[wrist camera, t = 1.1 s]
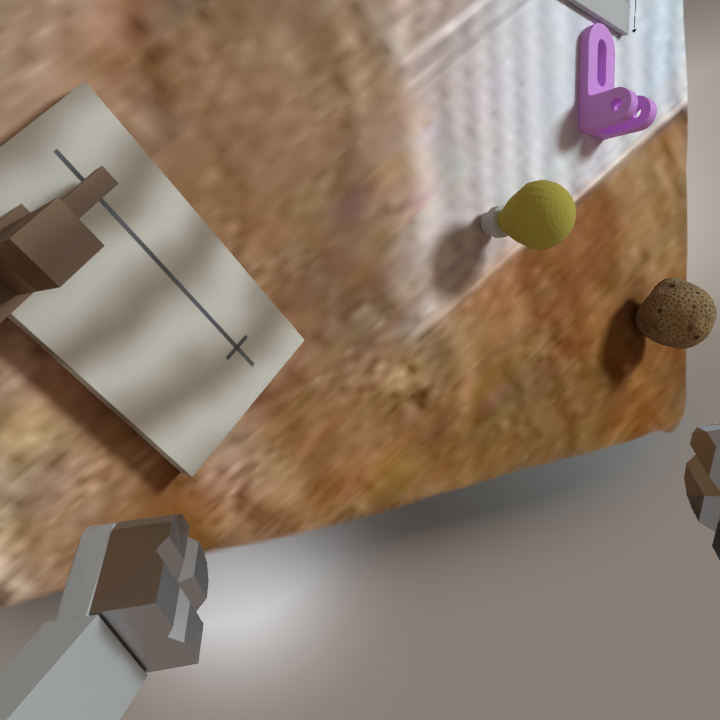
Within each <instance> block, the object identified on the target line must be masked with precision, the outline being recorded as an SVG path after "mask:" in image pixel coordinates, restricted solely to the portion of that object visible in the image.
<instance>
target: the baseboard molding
mask: <svg viewBox="0 0 720 720" xmlns="http://www.w3.org/2000/svg"><path fill="white" fill-rule="evenodd" d="M567 1H568V2H570V3H571V4H573V5H574V6H576V7H578V8H579V9H581V10H582V11H584V12H586V13H587V14H589V15H590V16H592V17H593V18H595V19H597V20H598V21H600V22H601V23H603V24H604V25H606V26H608V27H609V28H611V29H612V30H614V31H616V32H617V33H619V34H620V35H622V36H624V35H628V33H629V16H630V0H567ZM635 10H636V0H635ZM634 27H635V18H634ZM632 31H633V32H635V31H636V29H635V30H632Z"/></svg>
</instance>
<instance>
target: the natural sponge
mask: <svg viewBox="0 0 720 720" xmlns="http://www.w3.org/2000/svg"><path fill="white" fill-rule="evenodd" d="M715 320H716V307H715V304H714V302H713V300H712V298H711V297H710V295H709V294H708V293H707V292H706V291H705V290H703V289H701V288H700V287H698V286H696V285H693V284H691V283H689V282H687V281H685V280H682V279H679V278H668V279H664V280H662V281H661V282H659V283H658V284H657V285H656V286H655V287H654V289H653V290H652V292H651V293H650V295H649V296H648V297H647V298H646V299H645V301H644V302H643V303H642V305H641V306H640V307H639V309H638V310H637V312H636V315H635V323H636V325H637V327H638V329H639V330H640V331H641V332H642V333H643V334H644V335H645V336H646V337H648V338H649V339H651V340H653V341H655V342H657V343H659V344H662V345H665V346H669V347H673V348H679V349H684V348H689V347H693V346H695V345H697V344H699V343H700V342H702V341H703V340H704V339H705V338H707V336H708V335H709V334H710V332H711V330H712V328H713V325H714V322H715Z"/></svg>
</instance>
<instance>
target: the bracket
mask: <svg viewBox="0 0 720 720" xmlns="http://www.w3.org/2000/svg"><path fill="white" fill-rule="evenodd" d="M614 71H615V46H614V41H613V38H612V35H611V33H610V31H609V29H608V28H607V27H606V26H605V25H604V24H602V23H597V24H594V25H591V26H589V27H587V28H585V29H584V31H583V32H582V35H581V39H580V62H579V105H578V131H580V132H583V133H586V134H589V135H592V136H595V137H598V138H601V139H603V140H604V139H608V138H613V137H617V136H621V135H625V134H629V133H633V132H637V131H641V130H644V129H646V128H648V127H649V126H650V125H651V124H652V123H653V121H654V119H655V117H656V113H657V107H656V104H655V103H654V101H652V100H651V99H649V98H646V97H644V96H637V95H636V94H635V93H634V92H633V91H631V90H629V89H626V88H624V87H617V88H614ZM640 109H641V114H640V115H639V116H638V117H637V118H636V115H637V112H638V111H639V110H640Z"/></svg>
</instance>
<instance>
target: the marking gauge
mask: <svg viewBox="0 0 720 720" xmlns="http://www.w3.org/2000/svg"><path fill="white" fill-rule="evenodd" d="M117 185H118V182H117V181H116V180H115V179H114V178H113V177H112V176H111V175H110V173H109V172H108V171H107V170H106V169H105V168H104V167H103V166H101V167H99V168H98V169H96V170H95V171H93V172H92V173H91V174H90V175H89V176H88V177H86V178H85V179H84V180H83V181H82V182H81V183H79V184H78V185H77V186H76V187H75V188H74V189H72V190H71V191H70V192H69V193H68V194H67V195H65V196H64V197H63V198H62V199H60V198H59V197H57V198H56V199H54V200H52V201H50V202H48V203H47V204H45V205H43V206H41V207H40V208H38V209H36V210H34V211H33V212H31V213H30V212H29V211H28V210H27V209H26V208H25V207H24V206H23V205H22V204H20V205H18V206H17V207H15V208H14V209H12V210H10V211H9V212H8V213H7V214H5V215H4V216H3V217H2V218H1V219H0V323H1V322H2V321H3V320H4V319H5V318H6V317H8V316H9V315H10V314H11V313H12V312H13V311H14V310H15V309H16V308H17V307H18V306H20V305H21V304H22V303H23V302H24V301H25V300H26V299H27V298H28V297H29V296H30V295H32V294H33V293H34V292H38V291H43V290H49V289H54V288H59V287H61V286H62V285H63V284H64V283H65V282H66V281H68V280H69V279H70V278H71V277H72V276H73V275H74V274H75V273H76V272H77V271H78V270H79V269H80V268H81V267H83V266H84V265H85V264H86V263H87V262H88V261H89V260H90V259H91V258H92V257H93V256H94V255H95V254H96V253H98V252H99V251H100V250H101V249H102V248H103V247H104V246H105V245H104V244H103V243H102V242H101V241H100V240H99V239H98V238H97V237H96V236H95V235H94V234H93V233H92V232H91V231H90V230H89V229H88V228H87V227H86V226H85V225H84V223H83V222H82V221H81V220H80V219H79V218H81V217H82V216H83V215H84V214H85V213H86V212H87V211H88V210H90V209H91V208H92V207H93V206H94V205H95V204H96V203H97V202H99V201H100V200H101V199H102V198H103V197H104V196H105V195H106V194H108V193H109V192H110V191H111V190H112V189H113V188H114V187H115V186H117Z"/></svg>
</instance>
